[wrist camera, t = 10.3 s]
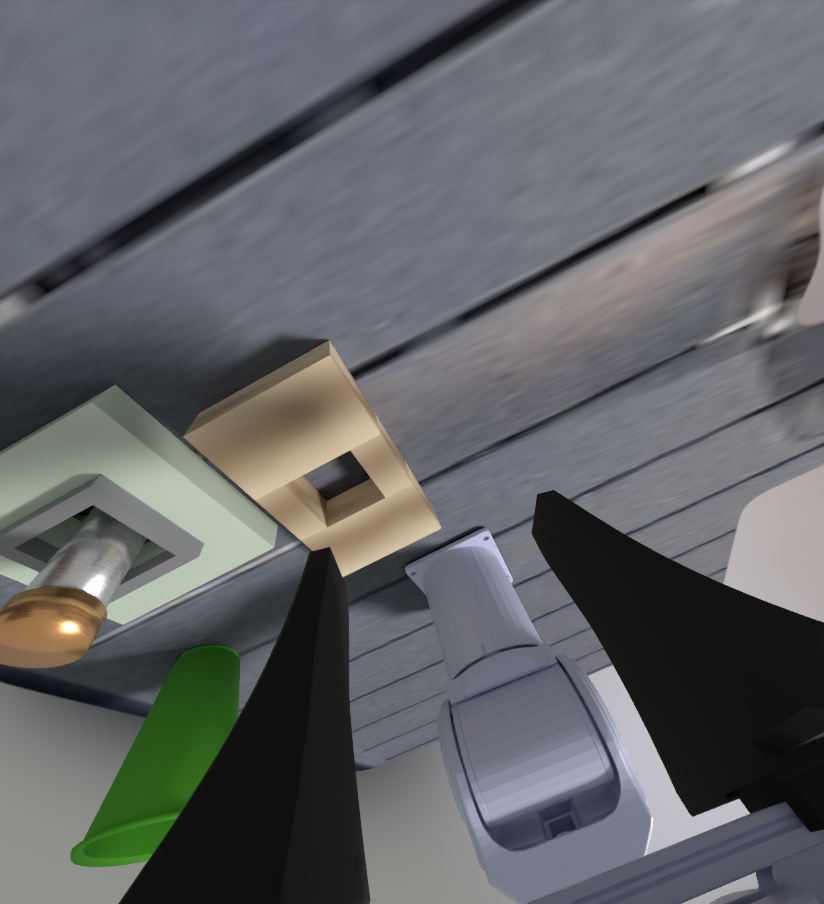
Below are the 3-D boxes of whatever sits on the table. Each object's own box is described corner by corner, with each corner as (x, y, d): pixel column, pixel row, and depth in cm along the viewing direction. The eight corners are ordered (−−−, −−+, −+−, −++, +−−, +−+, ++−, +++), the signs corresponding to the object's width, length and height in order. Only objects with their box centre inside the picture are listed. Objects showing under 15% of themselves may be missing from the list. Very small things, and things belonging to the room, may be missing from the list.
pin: (177, 513, 20) (108, 643, 14) (133, 537, 21) (46, 676, 14) (127, 478, 18) (20, 611, 12) (79, 505, 19) (-51, 649, 12)
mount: (431, 504, 25) (441, 528, 23) (341, 549, 25) (342, 577, 23) (329, 339, 17) (330, 354, 15) (199, 412, 17) (182, 436, 15)
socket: (277, 525, 23) (272, 560, 20) (137, 598, 24) (115, 639, 21) (115, 384, 16) (77, 412, 13) (-76, 496, 17) (-145, 541, 14)
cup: (222, 690, 33) (185, 858, 24) (126, 672, 28) (34, 875, 19) (283, 647, 31) (267, 812, 22) (192, 620, 26) (125, 819, 17)
